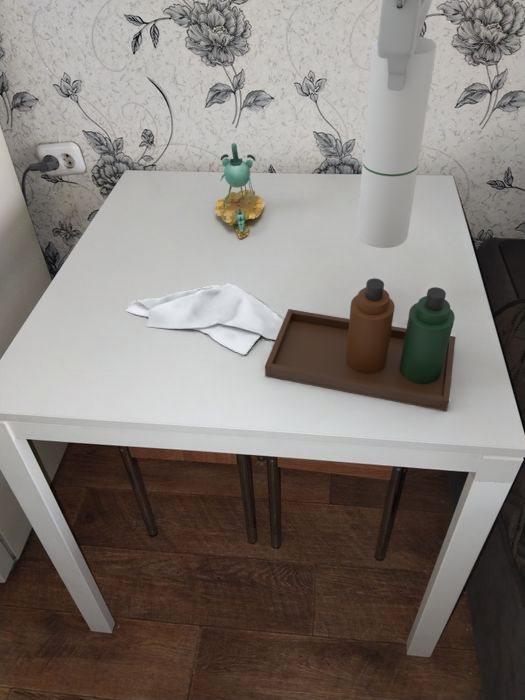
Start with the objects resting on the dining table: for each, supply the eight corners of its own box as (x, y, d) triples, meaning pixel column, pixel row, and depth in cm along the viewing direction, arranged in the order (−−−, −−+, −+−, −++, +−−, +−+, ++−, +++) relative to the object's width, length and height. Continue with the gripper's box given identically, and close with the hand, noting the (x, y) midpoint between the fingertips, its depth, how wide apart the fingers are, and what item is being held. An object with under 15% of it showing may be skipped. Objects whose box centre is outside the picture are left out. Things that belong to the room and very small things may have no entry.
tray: (453, 346, 85) (455, 336, 84) (446, 411, 77) (449, 401, 75) (288, 318, 91) (288, 308, 89) (265, 376, 82) (264, 366, 81)
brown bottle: (388, 349, 84) (400, 273, 75) (382, 377, 81) (394, 300, 71) (350, 342, 86) (357, 267, 76) (342, 369, 82) (348, 293, 73)
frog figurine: (202, 238, 108) (194, 158, 99) (225, 198, 122) (220, 124, 113) (253, 241, 106) (250, 160, 97) (271, 200, 120) (269, 126, 111)
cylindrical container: (405, 220, 86) (432, 34, 69) (409, 248, 81) (439, 54, 64) (356, 220, 87) (371, 35, 70) (357, 247, 82) (373, 55, 65)
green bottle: (442, 359, 83) (461, 282, 73) (439, 387, 79) (458, 310, 69) (402, 352, 84) (415, 275, 75) (396, 379, 80) (410, 303, 71)
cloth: (306, 307, 92) (306, 296, 90) (268, 366, 83) (267, 355, 82) (167, 269, 101) (164, 258, 99) (119, 318, 92) (116, 307, 91)
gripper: (441, -46, 52) (418, 112, 61) (456, -85, 66) (435, 48, 75) (369, -47, 53) (358, 107, 63) (398, -85, 67) (386, 46, 77)
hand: (400, 74), depth 69 cm, fingers closed on cylindrical container, 7 cm apart
